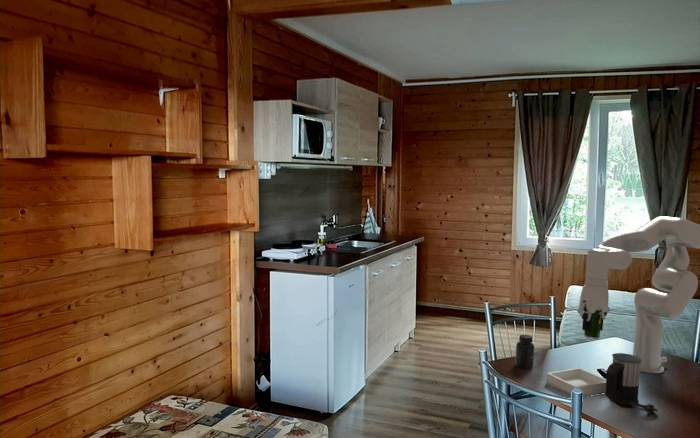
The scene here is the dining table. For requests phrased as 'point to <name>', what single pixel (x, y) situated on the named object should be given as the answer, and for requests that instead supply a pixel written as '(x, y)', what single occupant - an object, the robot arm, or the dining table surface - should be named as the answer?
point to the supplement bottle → (524, 352)
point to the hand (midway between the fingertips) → (592, 329)
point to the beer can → (594, 325)
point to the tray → (576, 381)
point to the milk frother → (625, 380)
